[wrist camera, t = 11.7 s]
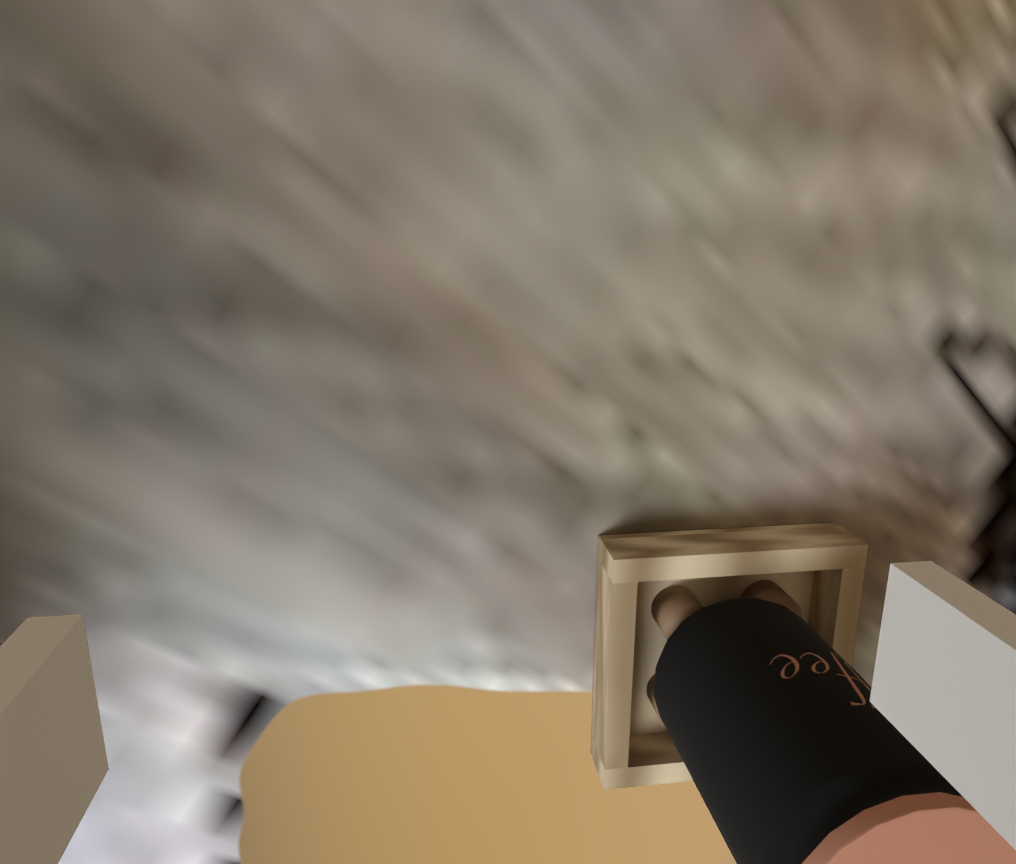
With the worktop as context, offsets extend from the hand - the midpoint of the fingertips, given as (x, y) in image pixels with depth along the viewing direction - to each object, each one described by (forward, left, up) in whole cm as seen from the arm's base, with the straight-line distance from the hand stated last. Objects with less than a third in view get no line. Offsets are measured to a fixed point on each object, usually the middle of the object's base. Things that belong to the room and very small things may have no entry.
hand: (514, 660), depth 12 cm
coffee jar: (+18, -20, -29) cm, 39 cm away
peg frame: (+18, -20, -32) cm, 42 cm away
